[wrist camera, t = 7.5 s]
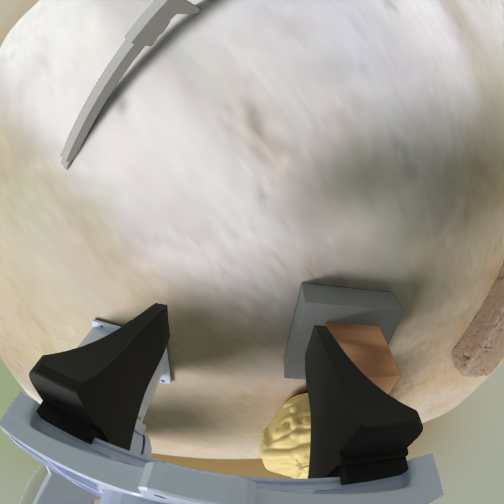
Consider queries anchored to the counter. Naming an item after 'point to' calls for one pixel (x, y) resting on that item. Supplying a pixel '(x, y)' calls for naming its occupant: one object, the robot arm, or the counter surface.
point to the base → (336, 317)
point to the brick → (483, 336)
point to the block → (367, 352)
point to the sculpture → (289, 439)
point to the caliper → (123, 66)
